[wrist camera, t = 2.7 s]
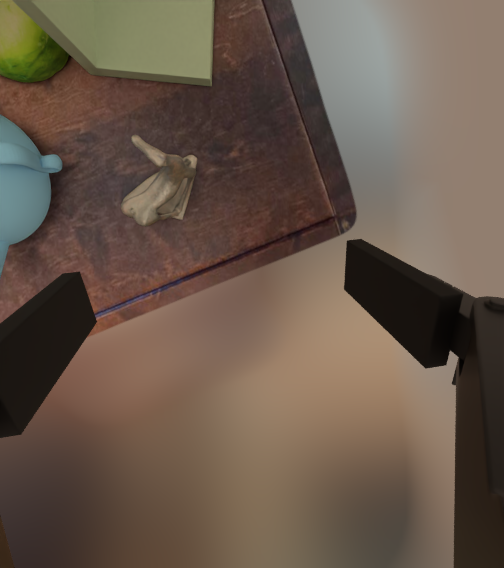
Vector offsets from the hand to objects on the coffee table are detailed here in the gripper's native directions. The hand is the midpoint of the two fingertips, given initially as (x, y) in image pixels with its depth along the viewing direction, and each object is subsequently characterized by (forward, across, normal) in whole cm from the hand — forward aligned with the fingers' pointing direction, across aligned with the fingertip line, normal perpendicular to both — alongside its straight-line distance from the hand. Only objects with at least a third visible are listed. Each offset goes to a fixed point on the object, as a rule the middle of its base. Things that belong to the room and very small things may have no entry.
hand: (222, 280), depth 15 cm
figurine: (+27, -6, +1) cm, 27 cm away
